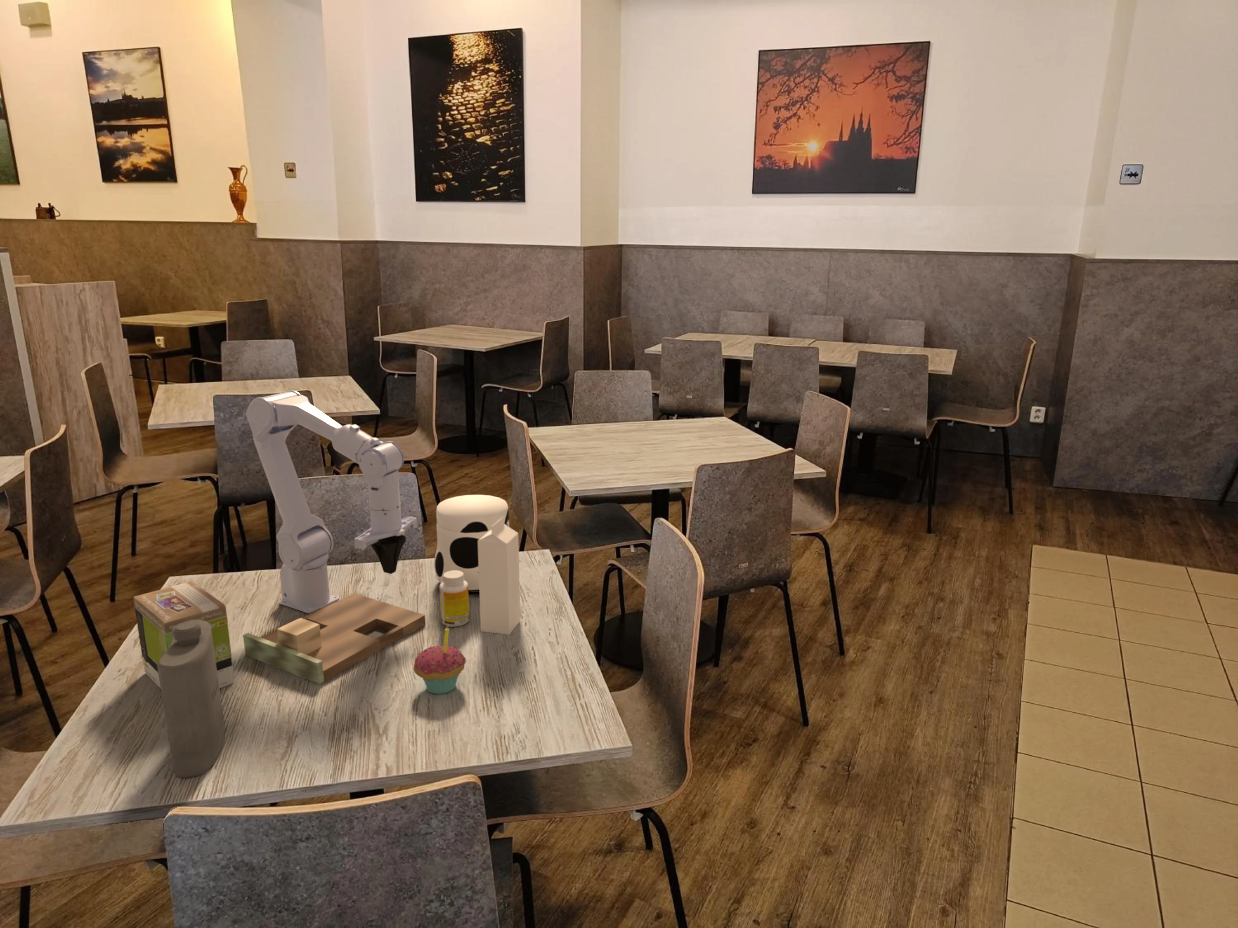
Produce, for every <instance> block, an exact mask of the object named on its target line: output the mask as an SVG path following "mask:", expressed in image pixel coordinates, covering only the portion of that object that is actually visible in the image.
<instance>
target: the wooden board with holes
mask: <svg viewBox="0 0 1238 928" xmlns="http://www.w3.org/2000/svg"><path fill="white" fill-rule="evenodd" d="M301 618H302V619H305V620H308V621H311V622H314V623H317V624H320V635H321V645H322V647H321V648H319V649H317V650H315V651H313V652H311V653H309V654H307V655H306V654H303V653H300V652H298V651H295V650H292V649H290V648H287V647H284V646H282V645H279V639H278V630H277V629H275V630H272V631H271V632H269V633H267V634H265V635H263V636H261V637H260V636H258V635H255V634H252V633H250V632H246V633H244V634H243V635H242V636H243V637H242V638H243V645H244V646H243V647H244V652H245V653H244V654H245V656H248V657H249V658H253V659H255V660H257V661H260V662H261V663H265V664H267V665H270V666H273V667H275V668H278V669H280V670H283V671H285V672H287V673H291V674H293V675H296V676H297V677H300V678H303V679H304V680H308V681H310V682H312V683H316V684H317V685H321V684H322V683H324V682H326V681H327V680H329V679H331V678H334V677H335V676H337V675H338V674H340V673H342V672H343V671H346V670H347V669H349V668H350V667H352V666H353V667H354V665H356V664H357V663H358V664H359V663H360V662H362V661H363V660H365V659H367V658H368V657H371V656H372V655H374V654H375V653H377V652H379V651H381V650H383V649H385V648H386V647H388V646H390V645H391V644H393V643H395V642H397V641H398V640H400V639H402V638H404V637H405V636H407V635H409V634H411V633H412V632H414V631H416V630H418V629H420V628H422V627H423V626H425V625H426V615H425V614H422V613H419V612H417V611H414V610H410V609H406V608H405V607H400V606H397V605H394V604H392V603H391V604H390V603H387V602H385V601H381V600H378V599H374V598H372V597H368V596H365V595H361V594H358V593H355V592H354V593H352V594H350V595H348V596H346V597H343V598H342V599H339V600H338V601H336V602H334V603H331V604H329V605H327V606H325V607H323V608H321V609H319V610H316V611H314V612H312V613H308V614H307V615H305V616H303V617H301Z"/></svg>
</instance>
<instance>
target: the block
mask: <svg viewBox="0 0 1238 928" xmlns="http://www.w3.org/2000/svg"><path fill="white" fill-rule="evenodd" d="M302 618H303V617H300V618H297V619H295V620H293V621H291V622H288V623H286V624H285V625H282V626H280V627H279V628H277V629H276V630H278V639H279V645H282V646H284V647H287V648H290V649H292V650H295V651H298V652H300V653H303V654H306V655H307V654H309V653H311V652H313V651H315V650H317V649H319V648H321V647H322V645H321V635H320V624H317V623H314V622H311V621H308V620H305V619H302Z"/></svg>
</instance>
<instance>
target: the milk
mask: <svg viewBox="0 0 1238 928" xmlns="http://www.w3.org/2000/svg"><path fill="white" fill-rule="evenodd" d="M491 529H492V530H490V531H489V532H487V533H486V534H485V535H484V536H483V537H482V538H480V539H479V540H478V565H479V592H478V593H479V613H480V631H481V632H486V633H493V634H498V635H499V634H500V635H506V636H509V635H511V634H512V632H513V631H514V629H515V628H516V627H517V626H518V625H519V623H520V622H521V601H520V600H521V598H520V593H521V592H520V560H519V559H520V557H519V556H520V554H519V553H520V552H519V550H520V549H519V545H520V544H519V533H518V532H517V531H516V530H514V529H513V528H512V527H510V526H509V527H508V526H507V525H505V524H504V517H502V518H501V519H499V520H498V521H497V522H496V523H495V524H494V525H492V528H491Z"/></svg>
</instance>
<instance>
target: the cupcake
mask: <svg viewBox="0 0 1238 928" xmlns="http://www.w3.org/2000/svg"><path fill="white" fill-rule="evenodd" d="M449 627H450V626H449V625H448V626H446V628H445V629H444V634H443V635H444V637H443V645H442V644H440V645H436V646H434V645H433V646H430V647H427V648H426V649H424V650H422V651H421V652H419V653H418V654H417V656H416V657H415V658H414V663H413V672H414V673H415V674H416V675H417V676H418V677H419V678H421V679H422V680H423V681H424V684H425V687H426V689H427V690H428V692H430V693H432V694H435V695H440V694H441V695H442V694H446V693H449V692H451V691H453V690H454V689H455V687H456V685H457V681H458V678H459V676H460V675H461V673H462V671H464V670H465V664H466V662H467V659H466V657H465V656H464V654H463V653H462V651H460V649H458V648H457V647H455V646H451V645H448V643H449V634H450V629H449Z"/></svg>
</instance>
